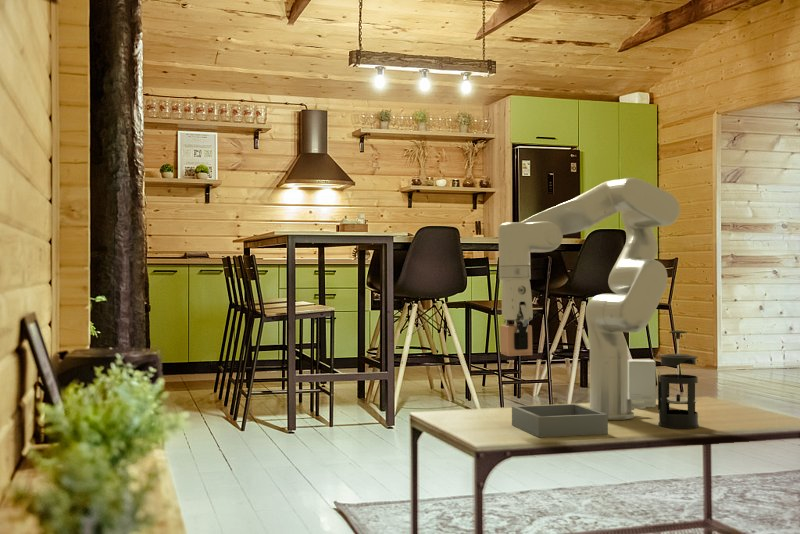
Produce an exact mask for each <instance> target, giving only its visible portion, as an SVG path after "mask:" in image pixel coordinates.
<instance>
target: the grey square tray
mask: <svg viewBox="0 0 800 534" xmlns="http://www.w3.org/2000/svg"><path fill="white" fill-rule="evenodd" d="M511 426H513V427H515V428H518V429H520V430H522V431H525V432H527V433H529V434H530V433H531V435H532V434H533V436H535V437H537V438H550V437H551V438H553V437H554V438H555V437H571V436H572V437H573V436H594V435H595V436H596V435H597V436H598V435H608V434H609V420H608V414H605V413H602V412H599V411H596V410H593V409H590V407H587V406H583V405H581V404H578V403H568V404H567V403H566V404H564V403H563V404H561V403H560V404H540V405H539V404H537V405H517V406H516V405H514V406H511Z"/></svg>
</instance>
